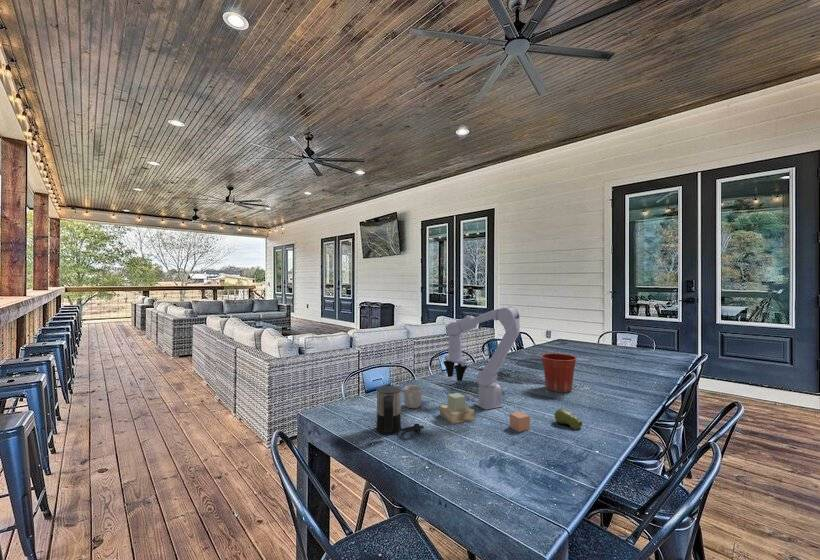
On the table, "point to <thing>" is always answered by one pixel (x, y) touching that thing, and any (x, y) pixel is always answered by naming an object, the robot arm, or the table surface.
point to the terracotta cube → (520, 421)
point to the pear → (567, 418)
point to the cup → (412, 396)
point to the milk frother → (390, 411)
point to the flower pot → (559, 371)
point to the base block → (457, 414)
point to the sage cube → (456, 401)
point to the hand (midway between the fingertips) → (454, 378)
